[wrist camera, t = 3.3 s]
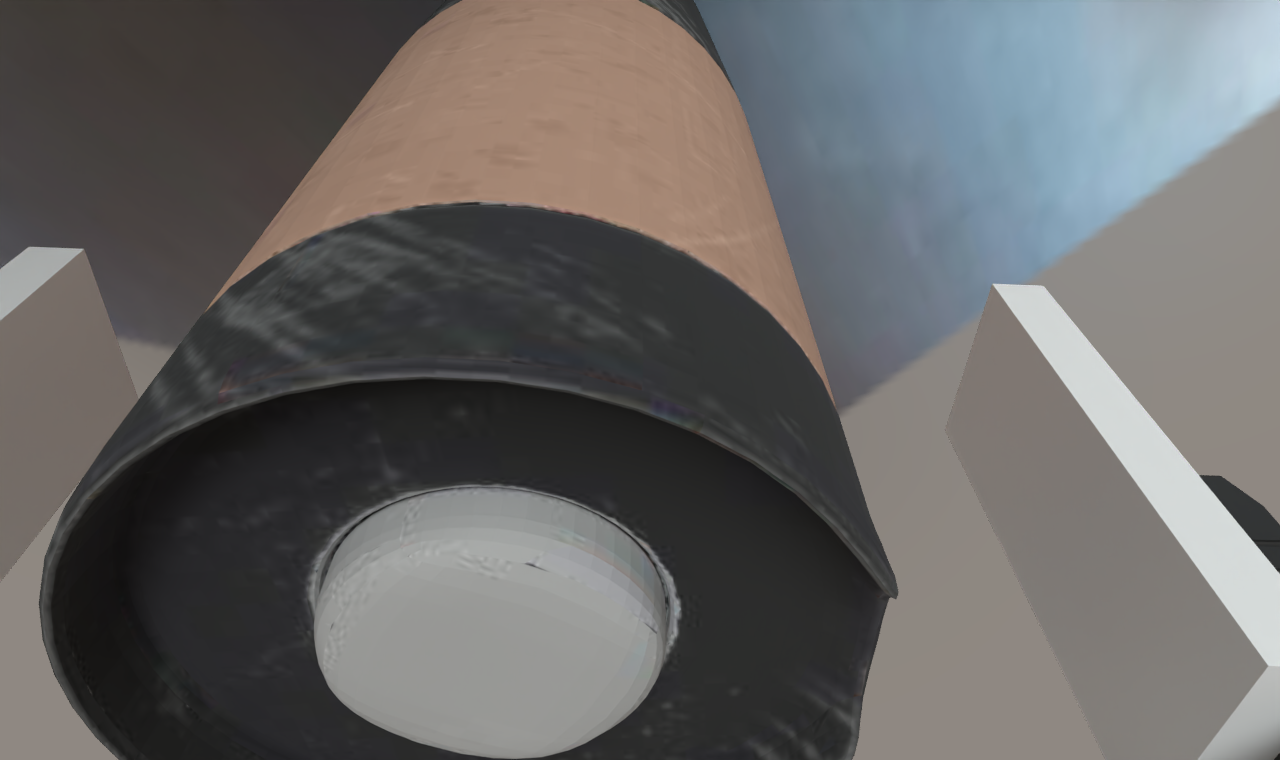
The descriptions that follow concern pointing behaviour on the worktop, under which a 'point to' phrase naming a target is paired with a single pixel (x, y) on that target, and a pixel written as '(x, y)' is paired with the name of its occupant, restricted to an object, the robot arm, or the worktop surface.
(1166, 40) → the worktop surface
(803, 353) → the travel mug
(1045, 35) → the worktop surface
